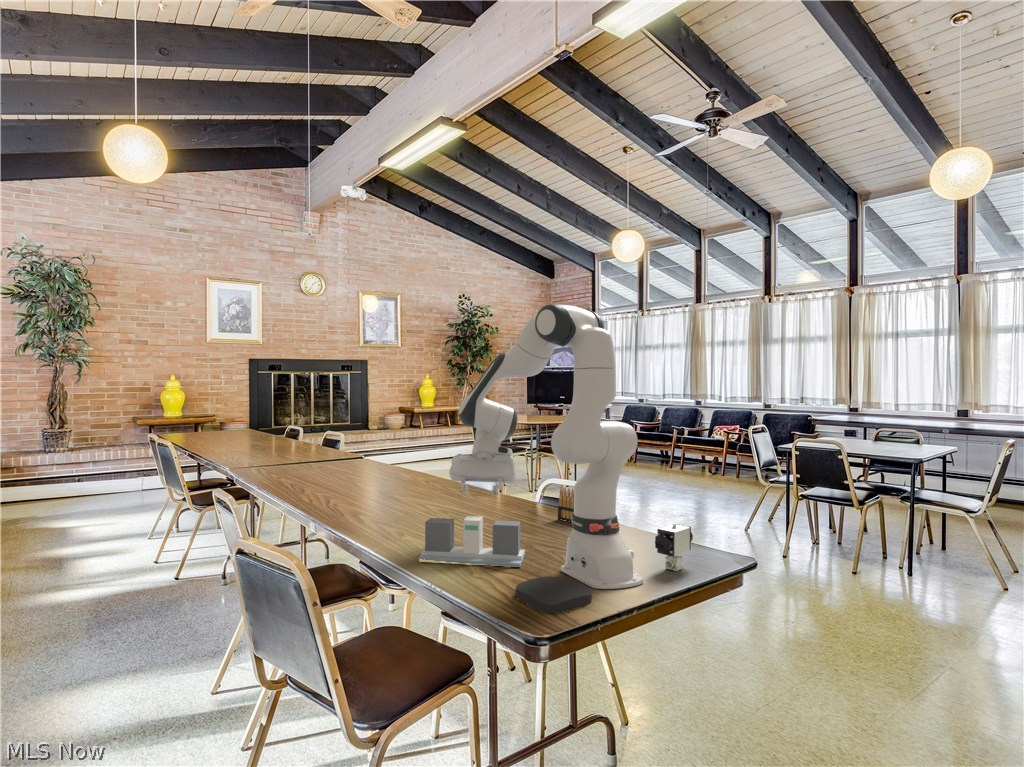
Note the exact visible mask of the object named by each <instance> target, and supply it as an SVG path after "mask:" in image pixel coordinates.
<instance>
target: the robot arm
mask: <svg viewBox="0 0 1024 767" xmlns="http://www.w3.org/2000/svg"><path fill="white" fill-rule="evenodd" d="M557 346H559V347H565V346H566V347H569V348H570V349H571V350H572V353H573V354H572V355H573V388H572V389H573V390H572V392H573V393H572V394H573V395H572V401H571V405H570V407H569V410H568V413H567V415H566V416H565V418H564V419H563V421H562V422H561V423H560V424H559V425H558V426H557V427H556V428H555V429H554V431H553V433H552V436H551V438H550V446H551V450H552V453H553V455H554V456H555V457H556V459H557V460H558V461H560V462H561V463H567V464H571V465H572V464H574V465H582V464H588V466H587V469H586V471H585V472H584V474H583V475H582V476H581V477H580V478H579V479H577V481H575V484H574V488H573V490H574V513H573V514H572V523H571V527H572V531H571V533H570V535H568V537H567V540H566V541H567V542H566V550H565V551H566V552H565V563H564V564H563V565H561V566H560V571H561V572H562V573H564V574H566V575H568V576H570V577H572V578H573V579H574V580H575V579H576V581H578V582H580V583H582V584H584V585H585V586H586V585H587V587H588V586H589V587H590V588H593V589H599V590H601V589H602V590H615V589H617V590H618V589H624V588H630V587H636V586H639V585H641V584H643V583H644V579H643V577H642V576H641V575H640V574H639V573H638V572H637V571H636V570H635V569H634V558H635V557H634V556H635V553H634V550H633V549H628V546H627V544H626V542H625V541H624V539H623V538H622V535H621V534H620V528H621V527H620V523H619V519H618V516H617V514H616V511H617V506H616V505H617V489H618V485H619V483H618V482H619V479H620V476H621V473H622V471H623V469H624V466H625V465H626V463H627V462H628V460H629V459H630V458H631V456H632V455H634V454H635V453H636V450H637V448H638V435H637V432H636V430H635V428H634V427H633V426H632V425H630V424H629V423H627V422H623V421H619V420H602V417H603V415H604V414H603V413H604V411H605V409H606V408H607V407H608V406H609V405H611V404H612V403H613V402H614V401H615V399H616V395H617V394H616V393H617V391H616V390H617V388H616V387H617V384H616V383H617V379H616V378H617V377H616V376H617V375H616V370H617V369H616V368H617V367H616V355H615V354H616V353H615V348H614V342H613V337H612V335H611V333H610V331H608V330H606V329H605V325H604V321H603V318H602V317H601V316H600V315H599V314H598V313H596V312H595V311H593V310H591V309H585V308H581V307H579V306H576V305H571V304H560V303H550V304H546V305H544V306H543V307H541V308H540V309H539V311H538V312H537V313H535V314H534V315H532V316H531V318H530V319H529V320H528V321H527V323H526V324H525V326H524V327H523V329H522V331H521V332H520V334H519V336H518V338H517V340H516V341H515V343H514V344H513V346H512V347H511V348H510V349H508V351H506V352H503V353H499V354H497V356H495V358H493V360H492V361H491V362H490V363H489V365H488V366H487V368H486V369H485V371H484V372H483V374H482V375H481V376H480V378H479V379H478V381H477V382H476V383H475V384H474V387H473V388H472V389H471V391H469V393H467V395H466V396H465V397H464V399H463V400H462V401H461V403H460V404H459V408H458V411H457V416H458V417H459V420H460V422H461V423H462V425H464V426H467V427H470V428H476V430H475V434H474V436H475V437H474V438H475V440H474V442H473V446H472V451H471V453H458V454H455V455H454V456H453V457H452V459H451V466H450V467H449V468H450V469H449V472H448V474H449V477H450V479H451V480H452V481H453V482H460V485H461V490H460V491H461V493H468V489H469V487H468V485H467V484H466V482H470V483H471V482H472V483H473V482H474V483H475V482H477V483H478V482H479V483H497V484H496V485H493V487H492V494H494V495H495V494H499V492H500V491H499V490H500V489H501V488H502V487H503V486H504V483H505V484H506V483H509V484H513V483H515V481H516V478H517V473H516V463H515V460H514V458H515V457H514V453H513V450H512V449H511V448H509V447H506V446H503V445H501V443H502V442H504V441H507V440H508V439H510V438H511V437H512V436H513V435H514V433H515V432H516V429H517V424H518V419H519V418H518V414H517V412H516V410H515V408H513V407H511V406H509V405H506V404H503V403H500V402H498V401H497V402H496V401H494V400H491V399H488V398H486V396H487V395H488V393H489V392H490V391H491V389H492V388H493V386H494V385H495V384H496V382H497V381H499V380H501V379H506V378H528V377H533V376H537V375H539V374H540V373H541V372H542V371H544V369H545V368H546V366H547V365H548V363H549V361H550V359H551V357H552V356H553V354H554V353H553V352H554V350H555V349H556V347H557Z"/></svg>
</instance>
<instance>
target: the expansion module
mask: <svg viewBox="0 0 1024 767" xmlns="http://www.w3.org/2000/svg"><path fill="white" fill-rule="evenodd" d="M462 528H463V531H462V532H463V533H462V534H463V537H462V538H463V539H462V540H463V541H462V542H463V545H462V547H463V553H477V554H479V553H480V552H481V550H482V549H483V548H484V544H483V543H484V532H483V531H484V516H483V515H480V516H479V515H467V516H466V517H465V518H464V519H463V527H462Z"/></svg>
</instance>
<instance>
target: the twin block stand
mask: <svg viewBox="0 0 1024 767" xmlns="http://www.w3.org/2000/svg"><path fill="white" fill-rule="evenodd" d="M424 524H425V525H424V526H425V529H424V530H425V531H424V532H425V533H424V548H423V549H422V550H421V551H420V555H419V556H418V558H417V560H418V559H423V560H424V559H425V560H435V561H446V562H459V563H471V564H485V565H499V566H511V567H520V566H521V567H522V564H523V561H524V559H523V558H525V556H526V550H525V549H521V521H520V520H519V521H515V520H495V521H494V523H492V547H483V549H482V550H481V552H480V553H479V554H477V553H463V546H455V518H445V517H444V518H441V517H440V518H439V517H429V518H428V519H427V520H426V521H425V523H424ZM524 555H525V556H524ZM522 560H523V561H522ZM521 563H522V564H521ZM511 567H510V568H511ZM521 567H520V568H521Z"/></svg>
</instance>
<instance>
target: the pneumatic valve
mask: <svg viewBox="0 0 1024 767" xmlns="http://www.w3.org/2000/svg"><path fill="white" fill-rule="evenodd" d="M654 538H655V541H654V545H655V547H654V548H655V549H657V550H656V551H657V554H661V555H665V556H664V558H665V562H664V565H665V566H664V568H665V569H666V570H672V571H674V572H675V571H676V572H678V571H681V570H683V569H684V566H683V563H684V557H683V555H682V554H683V553H686V552H688V551H691V549H692V545H691V544H692V542H693V539H694V536H693V532H692V526H687V525H684V524H680V523H672V524H669V525H668V526H667V525H664V526H661V527H660V528H657V535H656V536H655V537H654Z"/></svg>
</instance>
